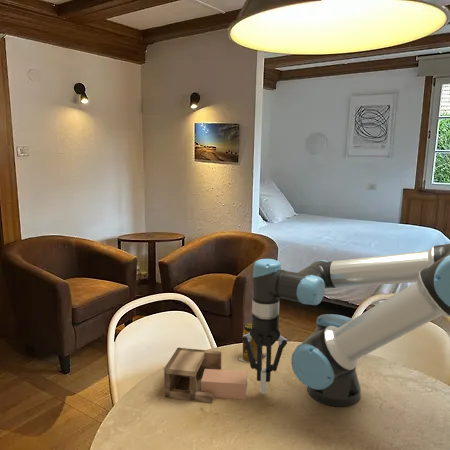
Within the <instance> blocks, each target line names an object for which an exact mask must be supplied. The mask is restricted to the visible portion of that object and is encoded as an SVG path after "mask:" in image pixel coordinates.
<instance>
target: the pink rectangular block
mask: <svg viewBox="0 0 450 450" xmlns="http://www.w3.org/2000/svg"><path fill="white" fill-rule="evenodd" d="M200 389H201V390H200V392H205V393H213V398H222V399H223V398H224V399H235V400H237V399H239V400H246V399H247V393H248V371H247V370H246V371H245V370H233V369H230V370H229V369H221V370H217V369H205V370H204V373H203V376H202V379H200Z"/></svg>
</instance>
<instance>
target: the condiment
mask: <svg viewBox="0 0 450 450" xmlns="http://www.w3.org/2000/svg"><path fill="white" fill-rule="evenodd" d="M251 328H252V322H248V323H247V322H246V323H245V324H244V325H243V333H242V336H243V335H244V334H248V333H250V330H251ZM251 344H252V348H253V352H254V357H255V361H256V363H257V344H256V342H255V341H254V340H253V338H252V337H251ZM265 357H266V352H262V360H263V359H264V358H265ZM238 361H240V362H241V361H242V362H245V363H249V364H250V362H249V357H248V353H247V349H246V345H245V343H244V342H243V341H242V355H241V357H239V359H238Z"/></svg>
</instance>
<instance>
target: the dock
mask: <svg viewBox="0 0 450 450" xmlns="http://www.w3.org/2000/svg"><path fill="white" fill-rule="evenodd" d="M205 369H217V370H222V351H219V350H207V349H198V348H195V349H194V348H189V347H188V348H186V347H177V348H176V349H175V351H174V353H173V354H172V355H171V358H170V359H169V361H168V362H167V363H166V365H165V367H164V368H163V375H164V376H163V377H164V398H167V399H168V398H169V399H175V400H176V399H177V400H185V401H193V402H200V403H201V402H203V403H210V404H211V403H213V402H214V397H213V393H205V392H201V391H197V380H198V379H199V380H202V376H203V373H204V370H205ZM181 378H188V379H189V390H187V389H180V388H179V389H177V388H176V387H177V385H178V383H179V382H180V380H181Z"/></svg>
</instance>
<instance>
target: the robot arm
mask: <svg viewBox="0 0 450 450" xmlns="http://www.w3.org/2000/svg"><path fill="white" fill-rule="evenodd" d="M281 266H282V264H281V262H280V261H279V260H277V259H273V258H261V259H258V260H255V262H254V264H253V267H252V268H253V271H252V300H251V301H252V304H251V313H252V315H251V323H252V328H251V330H250V333H248V334H244V335H243V334H242V339H241V340H242V343H243V342H244V343H245V345H246V349H247V353H248V357H249V362H250V363H249V365H250V368H251V369H252V370H253V369H254V370H256V380H257V382H260V388H259V389H260V391H259V393H260V394H263V395H265V394H266V392H267V383H270V382H271V377H272V376H271V372H273V371H274V372H276V371H277V369H278V366H279V363H280V360H281V356H282V354H283V351H284V348H285V347H286V345H287V344H288V338H287V337H284V336H282V335H281V332H280V329H279V325H280V320H279V319H280V316H279V315H280V299H283V300H286V301H287V300H289V301H292V302H297V303H301V304H303V305H311V306H318V305H319V304H321V302H322V300H323V298H324V296H325V291H326V289H339V288H349V287H350V288H351V287H352V288H353V287H364V286H365V287H366V286H380V285H393V284H409V283H411V284H410V285H409V286H407V287H405V288H403V289H402V290H400V291H398V292H397V293H395V294H393V295H391V296H390V297H388V298H386V299H384V300H383V301H382V302H379V303H378V304H376V305H374V306H373V307H371V308H370V309H368V310H366V311H364V312H363V313H361V314H359V315H357V316H356V317H354V318H351V317H348V316H345V315H341V314H333V313H329V314H328V313H326V314H325V313H323V314H320V315H319V316H317V319H316V322H315V324H316V327H315V328H316V329H315V331H314V332H312V333H311V334H310V335H309V336H308V337H307V338H305V339H304V340H303V341H302V342H301V343H300V344H299V345H297V346H296V347H295V349H294V351H293V352H292V354H291V360H290V361H291V362H290V364H291V368H292V371H293V374H294V375H295V376H296V378H297V379H298V380H299V382H301V383H302V384H303V385H304V386H306V387H307V392H308V394H309V395H310V397H312V398H313V399H314V400H316V401H317V402H319V403H322V404H325V405H327V406H330V407H331V406H332V407H339V408H340V407H348V406H352V405H355V404H357V403H358V402H359V400H360V399H361V394H362V393H361V391H362V390H361V385H360V381H359V378H358V373H357V365H358V360H359V359H360V358H362V357H364V356H367V355H368V354H370V353H372V352H374V351H377V349H379V348H381V347H384V346H386V345H388V344H389V343H391V342H393V341H395V340H397V339H399V338H401V337H402V336H404V335H406V334H408V333H410V332H413V331H414V330H416V329H418V328H420V327H421V326H424V325H426V324H428V323H429V322H432V321H433V320H435V319H437V318H439V317H441V316H444V317H448V318H450V243H445V244H438V245H437V244H436V245H432V247H431V248H430V249H428V250H421V251H412V252H402V253H396V254H385V255H378V256H377V255H376V256H369V257H368V256H367V257H358V258H351V259H350V258H349V259H342V260H332V261H328V260H326V259H325V260H324V259H321V260H317V261H314V262H313V263H311V264H310V265H308V266H306V267H305V268H303V269H301V270H300V271H298V272H296V271H295V272H294V271H289V270H285V269H282V267H281ZM251 337H252V338H253V340H254V341H255V342H256V344H257V363H256V361H255V357H254V352H253V348H252V344H251ZM277 341H278V343H277V344H278V346H277V351H276V354H275V357H274V359H273V363H272V348H273V347H272V346H274V345H275V343H276V342H277ZM263 347H266V351H265V353H266V356H265V357H266V358H265V359H266V360H265V362H266V363H265V367H263V359H262V353H263Z"/></svg>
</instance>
